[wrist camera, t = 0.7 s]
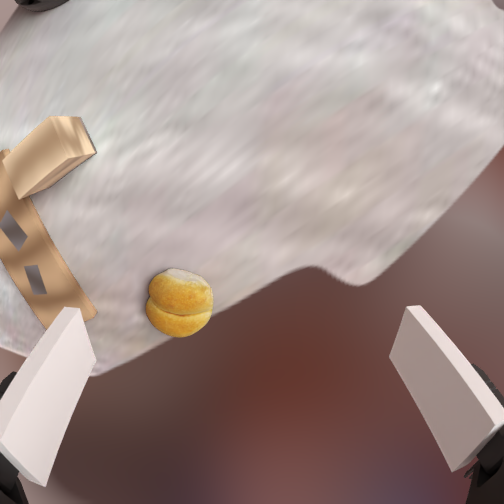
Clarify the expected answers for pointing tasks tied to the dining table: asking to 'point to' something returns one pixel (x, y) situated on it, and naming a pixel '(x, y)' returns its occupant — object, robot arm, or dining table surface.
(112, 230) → the dining table surface
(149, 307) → the bread roll
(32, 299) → the oak plank
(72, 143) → the block
